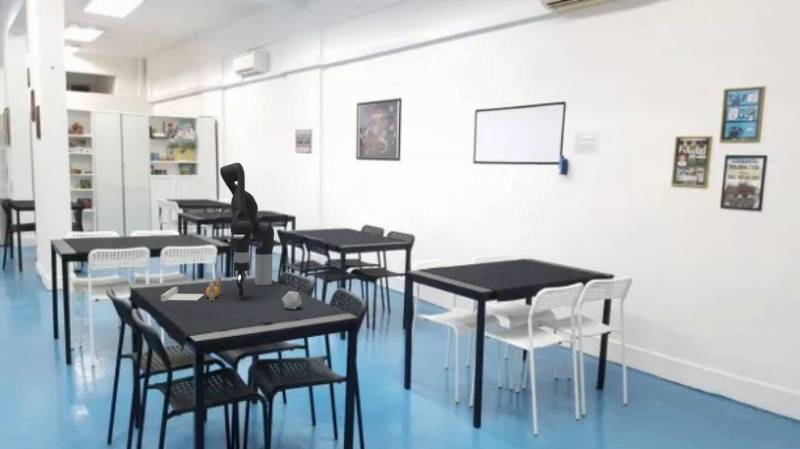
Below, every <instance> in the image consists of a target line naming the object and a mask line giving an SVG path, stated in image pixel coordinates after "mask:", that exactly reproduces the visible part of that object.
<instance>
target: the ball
mask: <svg viewBox="0 0 800 449" xmlns="http://www.w3.org/2000/svg"><path fill="white" fill-rule="evenodd" d="M205 294H206V296H207V297H208V298H209V286H208V287H207V288H206V290H205ZM217 296H219V295H218V288H217V287H216V285H215V291H214V298H216V297H217Z"/></svg>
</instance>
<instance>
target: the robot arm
mask: <svg viewBox="0 0 800 449" xmlns="http://www.w3.org/2000/svg"><path fill="white" fill-rule="evenodd" d="M219 173H220V177H221V179H222V181H223V182H224V184H225V186H226V187H227V188H228V190H229V191H230V193H231V195H232V197H231V201H230V206H231V214H232V215H231V216H232V218H231V225H230V232H231V234H233V235H234V236H243V237H242V238H240V239H236V240H235V241H234V247H233V251H234V253H233V271H235V272H237V274H236V286H237V289H238V296H239V297H243V296H244V295H245V286H246V281H247V273H246V272H248V271H249V270H250V241H251V236H252V238H253V240H255V241H258V242H262V245H261V246H258V247H257V248H255V251H254V252H255V253H254V254H255V255H254V258H255V260H254V261H255V262H254V269H255V270H254V271H255V273H254V279H255V280H254V284H255V286H270V285H271V286H272V284H273V249H274V245H275V244H274V242H275V229H274V227H273V226H272V225H269V224H261V223H260V221H259V220H258V218H257V215H258V210H259V206H258V203H257V201H256V199H255V197H254V196H253V195H252V194H251V193H250V192H249V191H247V190H246V176H245V170H244V166H243V165H242V164H241V163H240V162H234V163H231V164H228V165H223V166H222V167H220V169H219ZM236 182H237V183H236ZM241 219H244V220H241Z"/></svg>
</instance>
